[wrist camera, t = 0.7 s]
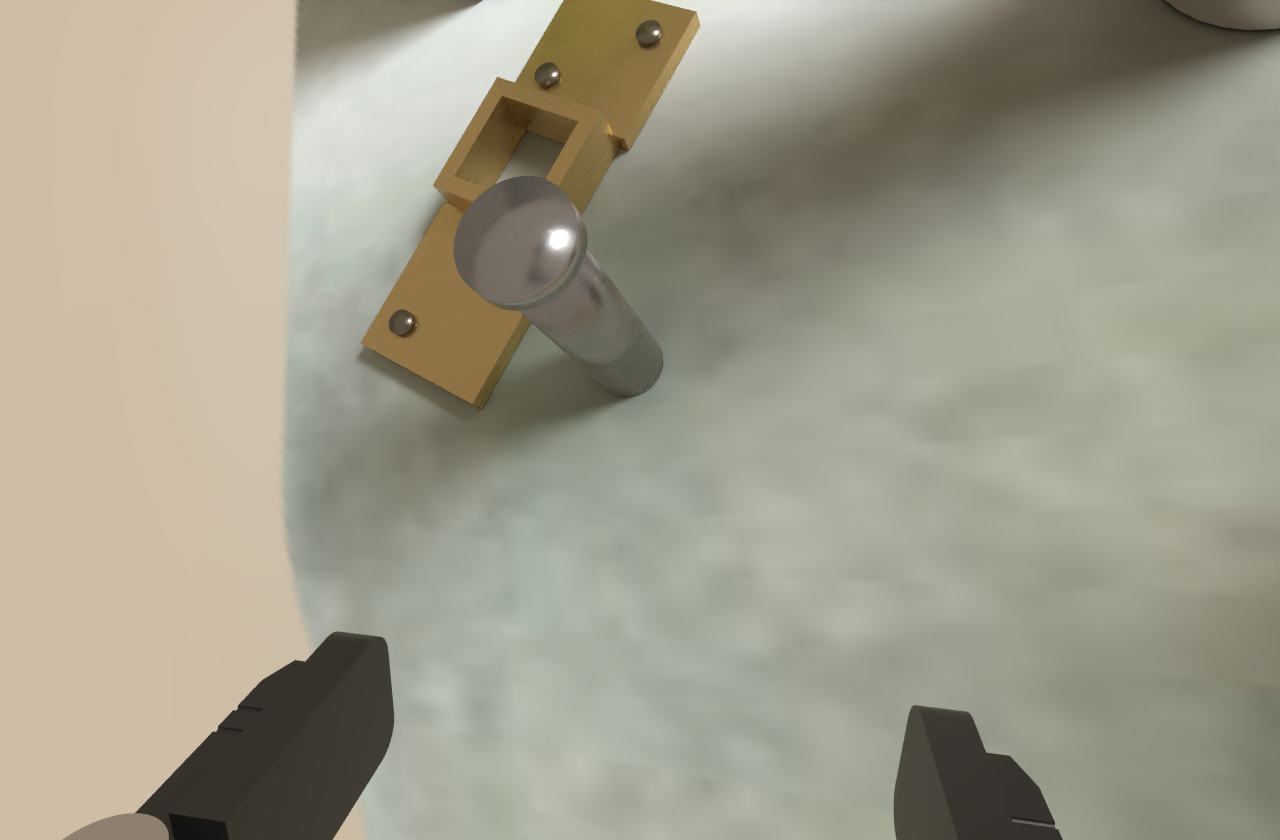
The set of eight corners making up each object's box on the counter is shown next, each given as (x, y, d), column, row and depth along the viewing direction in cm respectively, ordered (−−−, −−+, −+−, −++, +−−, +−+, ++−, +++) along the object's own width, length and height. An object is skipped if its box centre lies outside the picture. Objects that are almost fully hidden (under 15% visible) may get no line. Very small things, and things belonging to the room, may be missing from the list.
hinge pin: (614, 308, 38) (495, 160, 25) (689, 341, 36) (600, 200, 24) (571, 384, 37) (430, 270, 25) (645, 421, 35) (533, 318, 23)
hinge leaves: (581, -6, 43) (561, -48, 41) (700, 25, 40) (688, -19, 38) (371, 349, 41) (336, 329, 38) (481, 409, 38) (451, 392, 35)
